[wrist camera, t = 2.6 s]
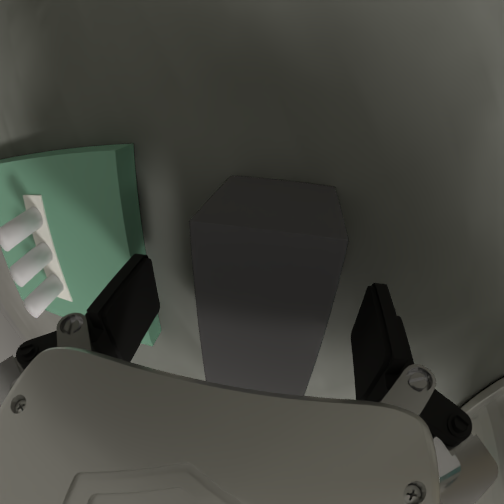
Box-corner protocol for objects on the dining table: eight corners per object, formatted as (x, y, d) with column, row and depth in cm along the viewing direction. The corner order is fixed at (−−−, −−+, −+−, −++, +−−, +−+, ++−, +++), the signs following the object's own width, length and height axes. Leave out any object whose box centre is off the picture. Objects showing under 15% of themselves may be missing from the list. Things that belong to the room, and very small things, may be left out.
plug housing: (334, 186, 11) (348, 239, 7) (304, 340, 16) (298, 411, 12) (231, 175, 12) (189, 221, 8) (230, 330, 17) (208, 396, 13)
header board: (133, 143, 12) (68, 170, 8) (161, 330, 18) (132, 382, 14) (-6, 160, 14) (-49, 182, 10) (32, 290, 20) (2, 320, 16)
